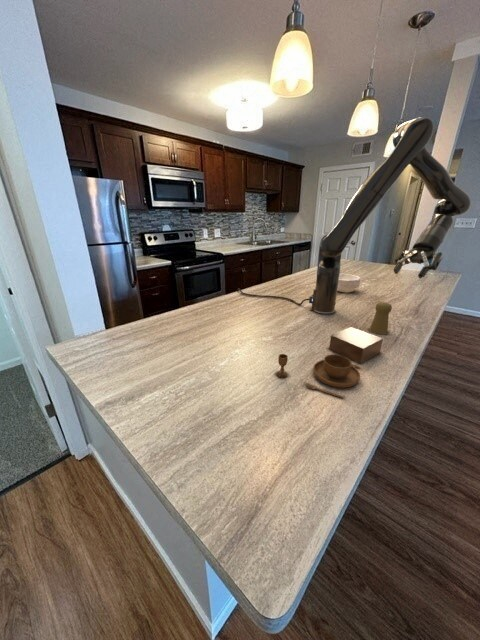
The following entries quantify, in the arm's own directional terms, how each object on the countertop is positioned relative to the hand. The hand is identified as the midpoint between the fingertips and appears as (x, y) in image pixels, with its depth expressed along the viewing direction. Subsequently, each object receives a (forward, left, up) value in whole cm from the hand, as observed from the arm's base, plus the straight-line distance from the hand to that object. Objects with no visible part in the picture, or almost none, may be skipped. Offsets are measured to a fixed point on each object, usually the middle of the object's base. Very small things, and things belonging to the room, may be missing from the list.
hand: (407, 274), depth 96 cm
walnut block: (-8, -32, -20) cm, 38 cm away
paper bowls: (-29, +38, -20) cm, 52 cm away
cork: (-4, -11, -20) cm, 23 cm away
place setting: (-13, -50, -20) cm, 55 cm away
